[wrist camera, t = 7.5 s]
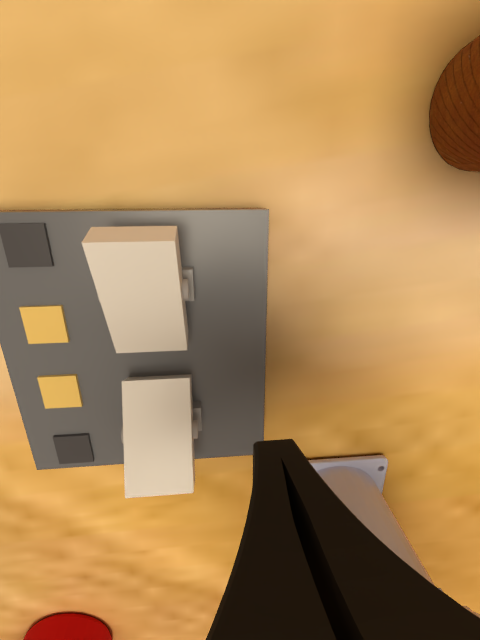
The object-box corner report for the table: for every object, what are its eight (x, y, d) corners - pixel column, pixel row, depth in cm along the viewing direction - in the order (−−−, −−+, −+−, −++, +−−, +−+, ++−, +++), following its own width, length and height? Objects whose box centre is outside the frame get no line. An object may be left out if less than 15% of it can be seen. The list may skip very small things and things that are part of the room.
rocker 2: (199, 479, 19) (198, 492, 17) (127, 484, 18) (120, 498, 17) (195, 373, 19) (194, 377, 17) (124, 377, 18) (116, 381, 17)
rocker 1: (193, 330, 18) (192, 350, 17) (117, 333, 17) (111, 353, 16) (183, 224, 14) (181, 241, 13) (85, 226, 14) (74, 242, 12)
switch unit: (257, 428, 23) (264, 462, 20) (55, 441, 22) (31, 478, 19) (261, 207, 18) (271, 209, 15) (-5, 210, 17) (-50, 213, 14)
